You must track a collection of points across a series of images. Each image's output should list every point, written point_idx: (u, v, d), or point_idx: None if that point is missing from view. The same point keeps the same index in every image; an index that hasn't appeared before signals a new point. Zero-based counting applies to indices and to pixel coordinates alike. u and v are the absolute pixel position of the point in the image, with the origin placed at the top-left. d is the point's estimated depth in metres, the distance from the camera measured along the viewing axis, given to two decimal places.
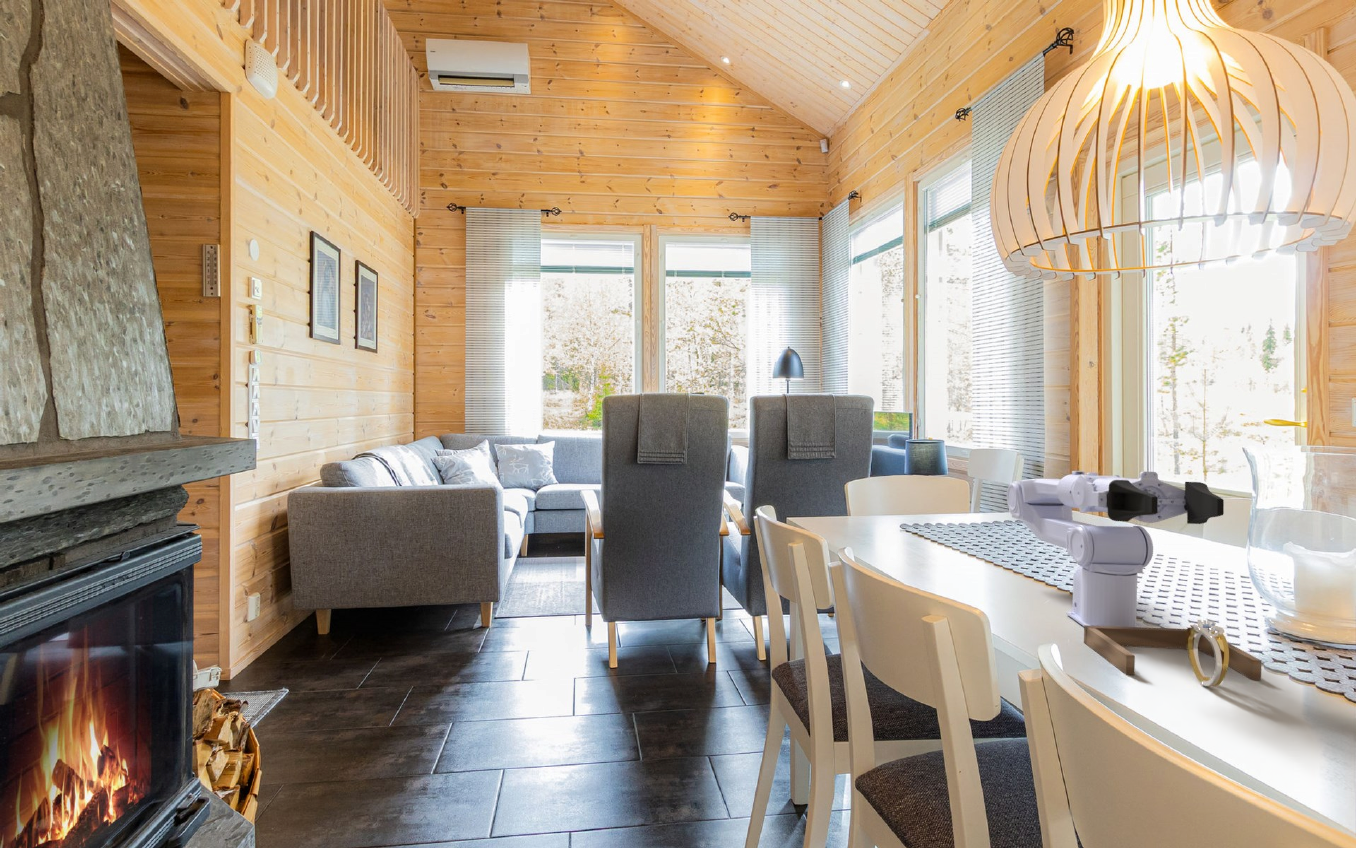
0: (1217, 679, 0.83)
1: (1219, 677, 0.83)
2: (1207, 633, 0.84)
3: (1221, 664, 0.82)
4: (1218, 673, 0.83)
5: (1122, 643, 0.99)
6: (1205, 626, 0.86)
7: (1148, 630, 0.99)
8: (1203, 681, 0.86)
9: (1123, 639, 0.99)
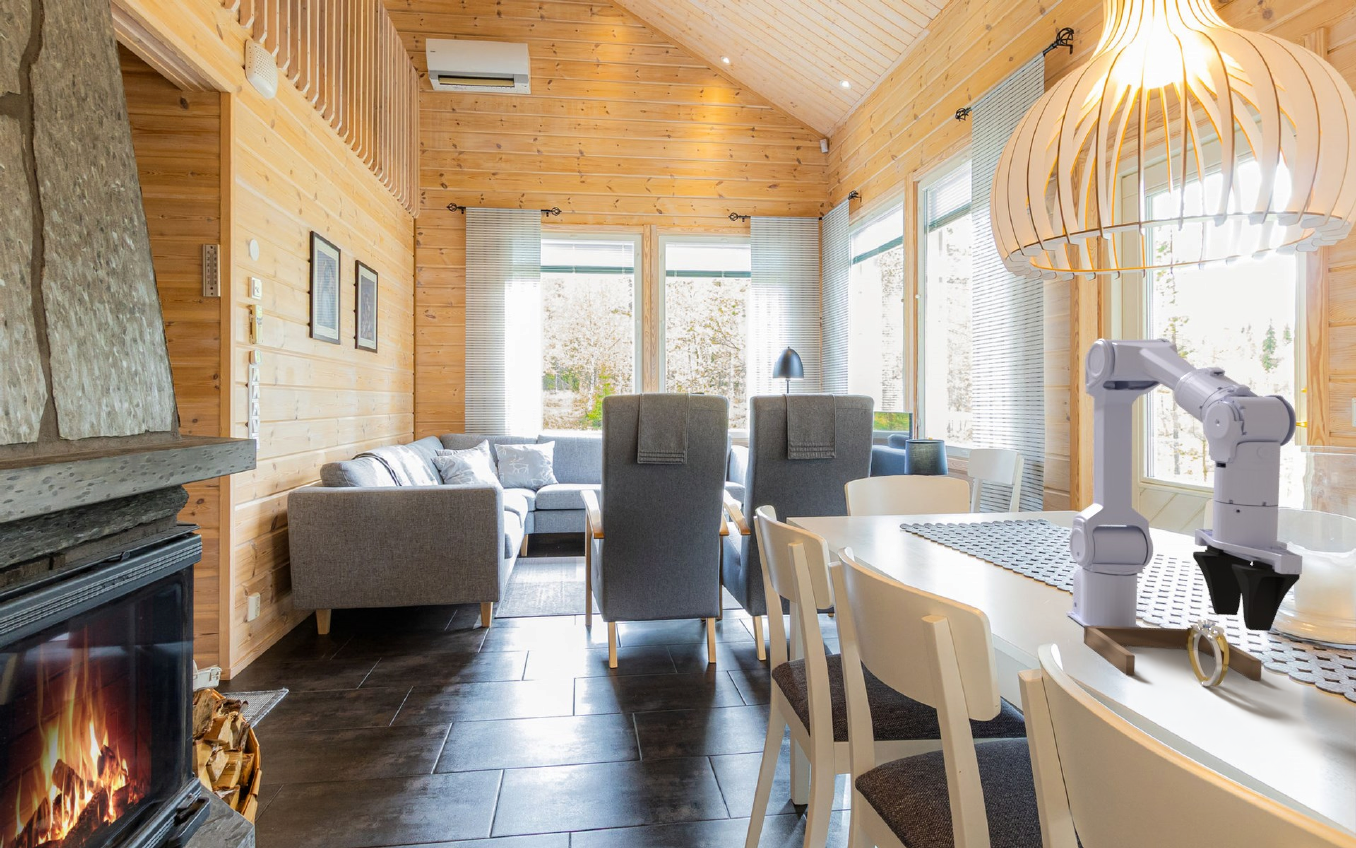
0: (1217, 679, 0.83)
1: (1219, 677, 0.83)
2: (1207, 633, 0.84)
3: (1221, 664, 0.82)
4: (1218, 673, 0.83)
5: (1122, 643, 0.99)
6: (1205, 626, 0.86)
7: (1148, 630, 0.99)
8: (1203, 681, 0.86)
9: (1123, 639, 0.99)
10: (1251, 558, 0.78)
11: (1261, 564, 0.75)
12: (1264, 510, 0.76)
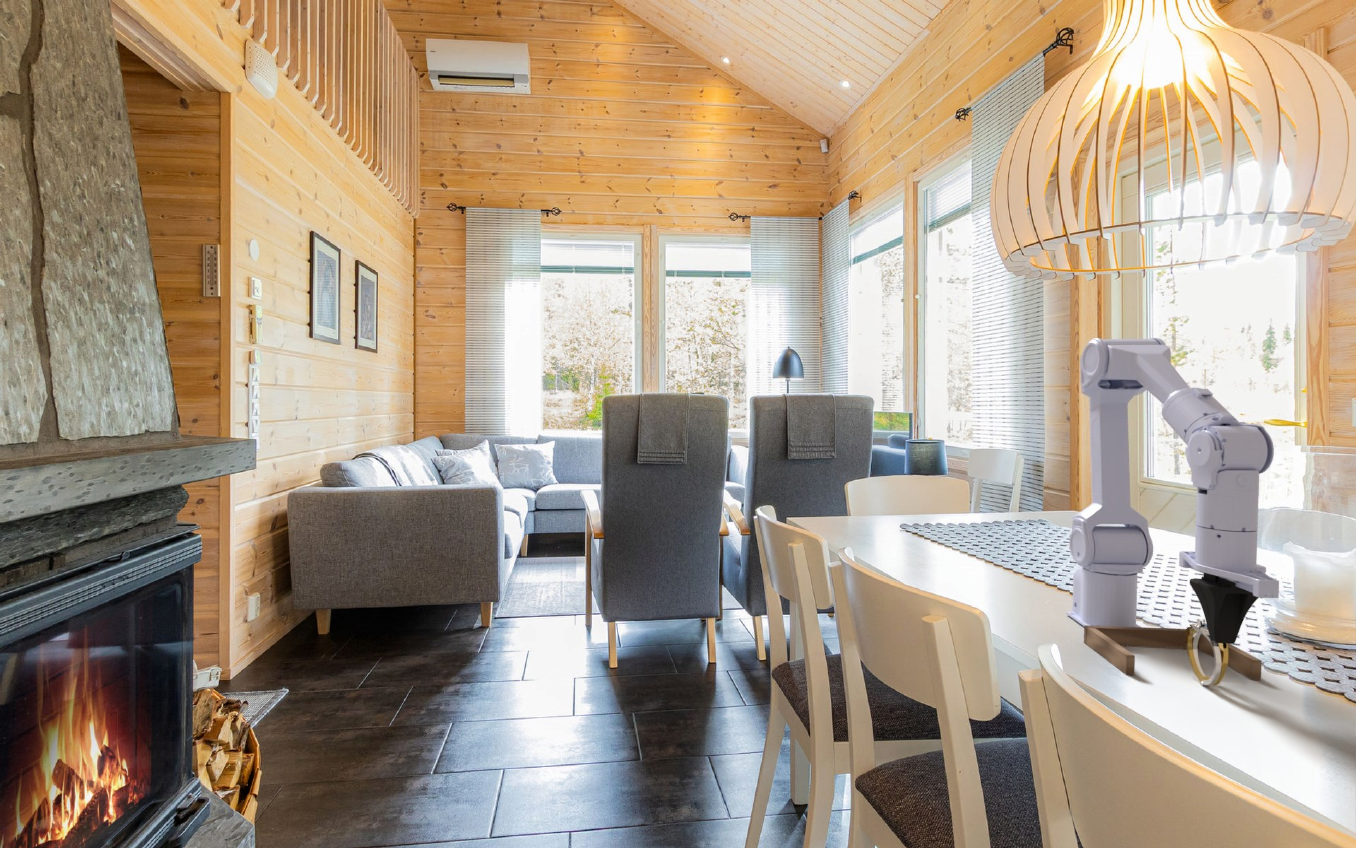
0: (1217, 678, 0.83)
1: (1219, 676, 0.83)
2: (1206, 632, 0.85)
3: (1220, 662, 0.83)
4: (1218, 672, 0.83)
5: (1122, 643, 0.99)
6: (1204, 625, 0.86)
7: (1148, 630, 0.99)
8: (1203, 680, 0.86)
9: (1123, 639, 0.99)
10: (1231, 581, 0.81)
11: (1225, 582, 0.81)
12: (1243, 535, 0.80)
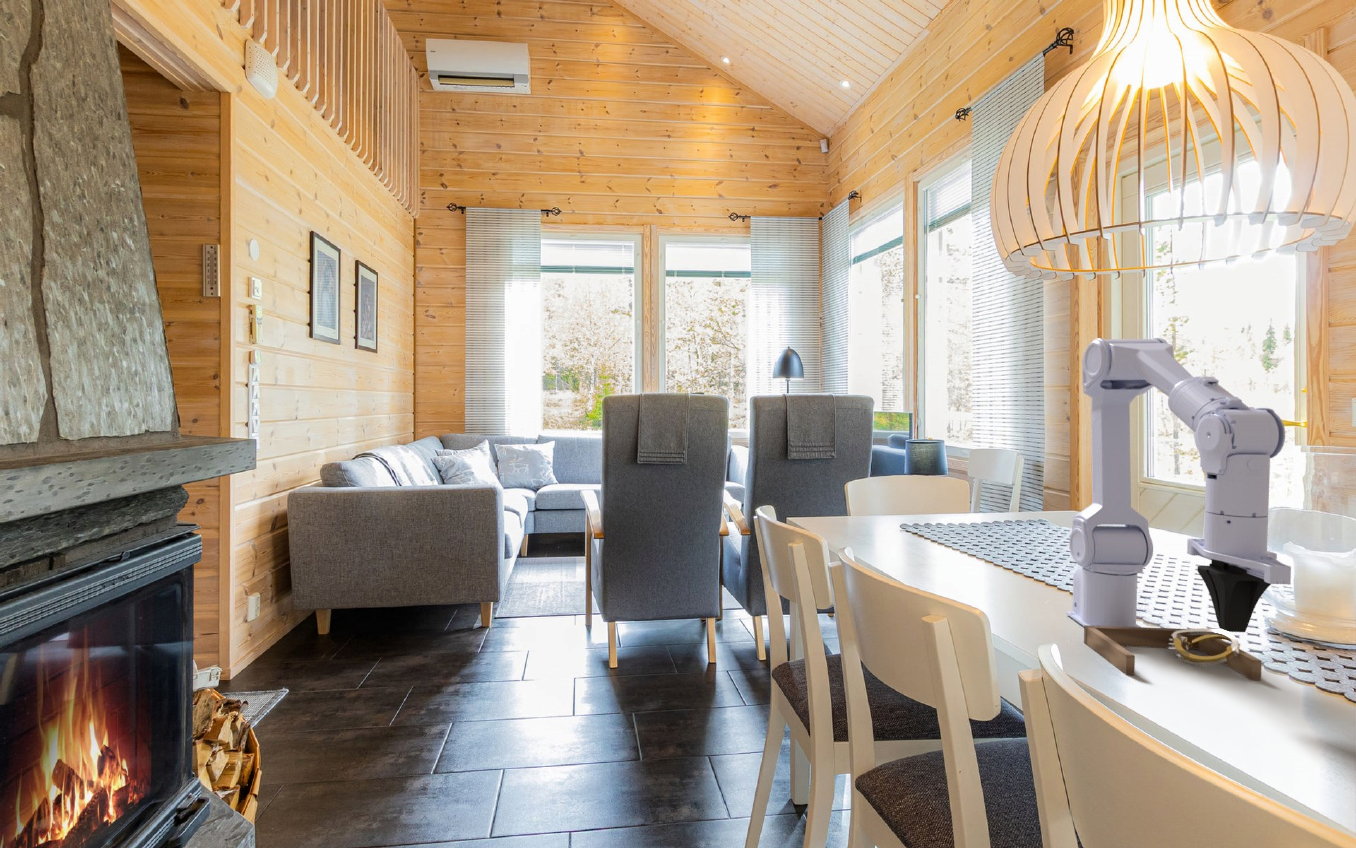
0: None
1: None
2: None
3: None
4: None
5: (1122, 643, 0.99)
6: (1177, 639, 0.97)
7: (1148, 630, 0.99)
8: (1232, 646, 0.91)
9: (1123, 639, 0.99)
10: (1241, 568, 0.79)
11: (1236, 569, 0.79)
12: (1254, 521, 0.78)
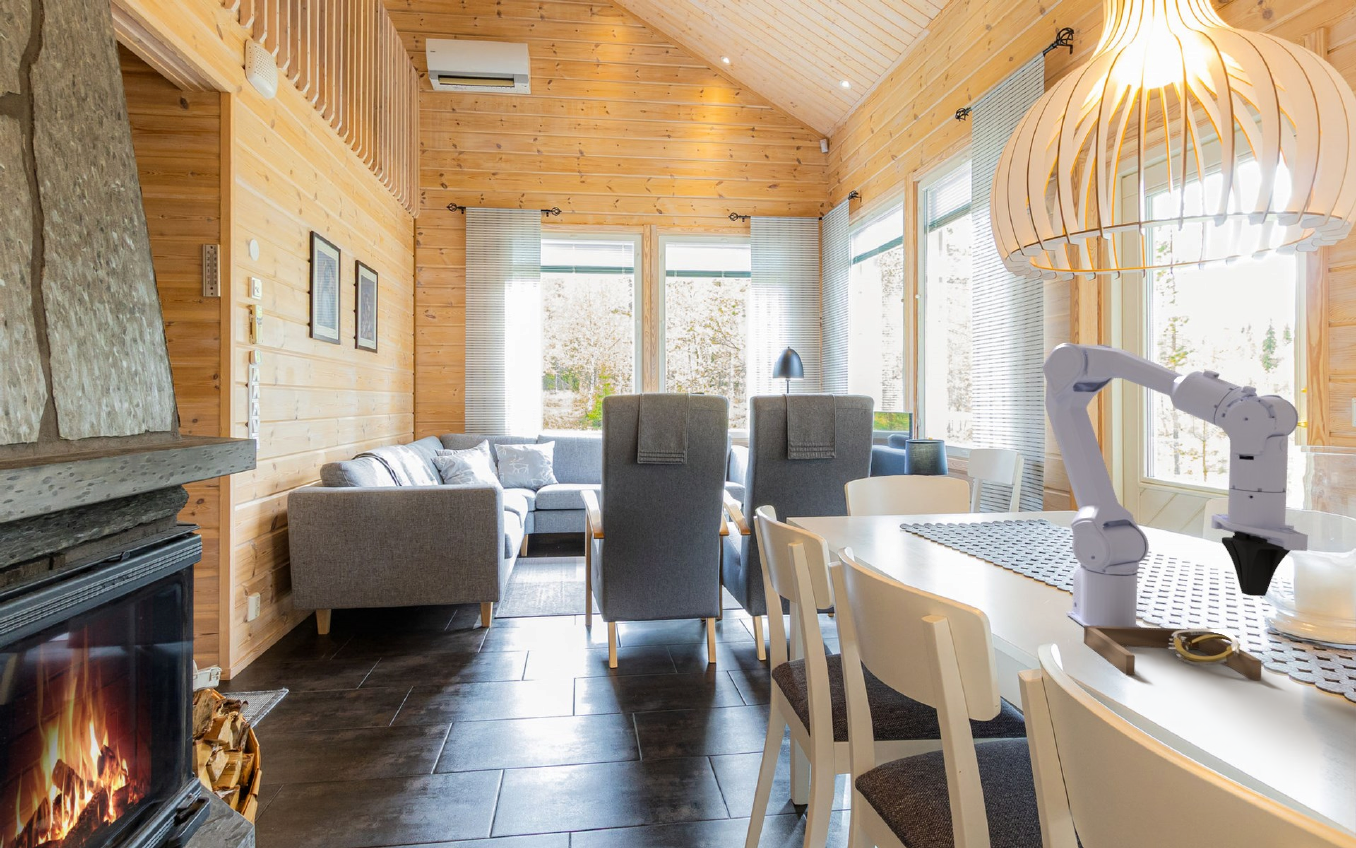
0: None
1: None
2: None
3: None
4: None
5: (1122, 643, 0.99)
6: (1177, 639, 0.97)
7: (1148, 630, 0.99)
8: (1232, 646, 0.91)
9: (1123, 639, 0.99)
10: (1262, 538, 0.88)
11: (1258, 539, 0.89)
12: (1274, 496, 0.87)
